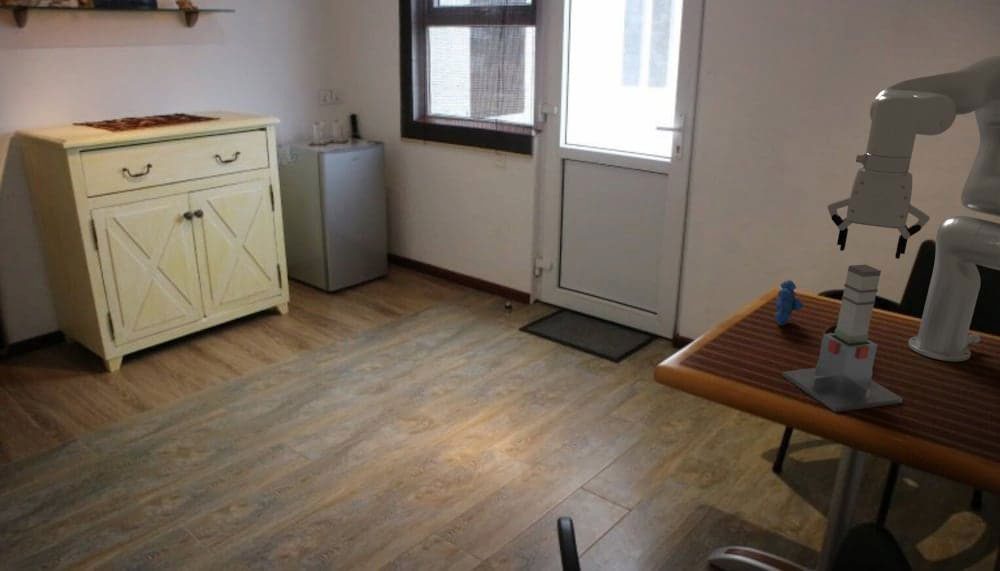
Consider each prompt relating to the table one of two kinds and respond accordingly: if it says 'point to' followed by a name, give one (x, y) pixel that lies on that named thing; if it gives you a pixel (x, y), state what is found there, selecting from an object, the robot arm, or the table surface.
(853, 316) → the column
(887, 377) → the table surface
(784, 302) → the blue lumpy cluster
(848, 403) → the stand base
